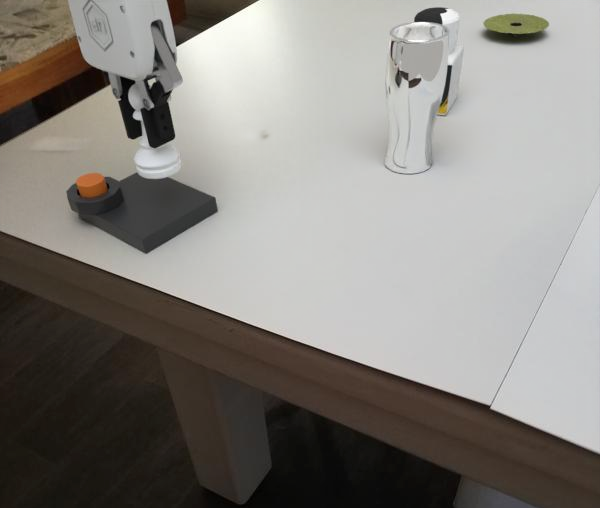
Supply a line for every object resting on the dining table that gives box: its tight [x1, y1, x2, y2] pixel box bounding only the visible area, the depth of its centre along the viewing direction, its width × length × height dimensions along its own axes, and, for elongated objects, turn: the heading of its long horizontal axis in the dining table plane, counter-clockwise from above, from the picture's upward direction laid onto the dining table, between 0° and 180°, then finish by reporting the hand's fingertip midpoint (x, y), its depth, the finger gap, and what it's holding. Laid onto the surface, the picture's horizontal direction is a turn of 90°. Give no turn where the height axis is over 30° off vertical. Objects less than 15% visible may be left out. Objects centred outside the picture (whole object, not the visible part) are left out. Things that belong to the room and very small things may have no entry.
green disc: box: [482, 13, 550, 35], centre depth 105 cm, size 11×11×2 cm
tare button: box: [75, 172, 108, 197], centre depth 68 cm, size 3×3×2 cm
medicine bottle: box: [413, 6, 465, 116], centre depth 83 cm, size 7×7×12 cm
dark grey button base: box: [66, 171, 219, 255], centre depth 69 cm, size 14×12×4 cm
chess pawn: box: [128, 83, 182, 179], centre depth 63 cm, size 5×5×9 cm
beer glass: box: [384, 21, 450, 175], centre depth 70 cm, size 7×7×15 cm
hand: (151, 137), depth 63 cm, fingers closed on chess pawn, 2 cm apart
